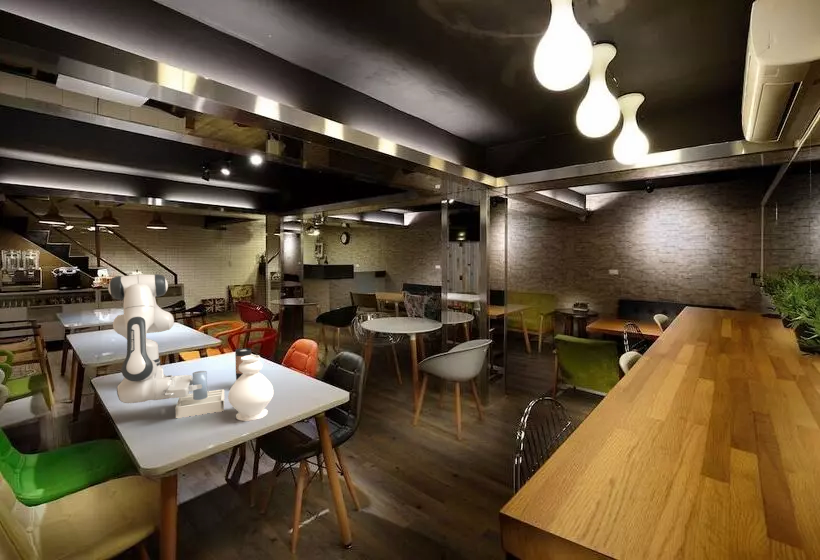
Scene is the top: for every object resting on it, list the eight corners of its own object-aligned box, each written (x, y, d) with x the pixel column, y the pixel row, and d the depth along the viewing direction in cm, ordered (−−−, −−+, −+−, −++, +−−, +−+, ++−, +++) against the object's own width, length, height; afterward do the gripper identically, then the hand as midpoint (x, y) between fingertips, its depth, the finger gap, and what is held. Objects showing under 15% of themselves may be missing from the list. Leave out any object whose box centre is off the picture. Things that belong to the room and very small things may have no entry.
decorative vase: (228, 426, 150) (226, 365, 149) (229, 410, 167) (228, 354, 165) (275, 419, 157) (274, 360, 156) (272, 404, 174) (271, 350, 172)
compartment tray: (180, 405, 172) (180, 395, 172) (224, 398, 180) (224, 389, 180) (175, 418, 158) (175, 407, 158) (223, 411, 165) (223, 400, 165)
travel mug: (246, 390, 191) (245, 351, 190) (232, 389, 193) (231, 351, 191) (255, 385, 198) (254, 348, 197) (242, 384, 200) (241, 347, 199)
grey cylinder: (193, 396, 166) (193, 371, 166) (207, 394, 169) (207, 370, 168) (192, 400, 162) (191, 375, 161) (207, 398, 164) (206, 373, 163)
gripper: (160, 388, 150) (200, 383, 156) (168, 374, 168) (203, 370, 174) (161, 404, 150) (200, 398, 156) (169, 388, 169) (204, 383, 175)
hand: (202, 383), depth 165 cm, fingers closed on grey cylinder, 5 cm apart
